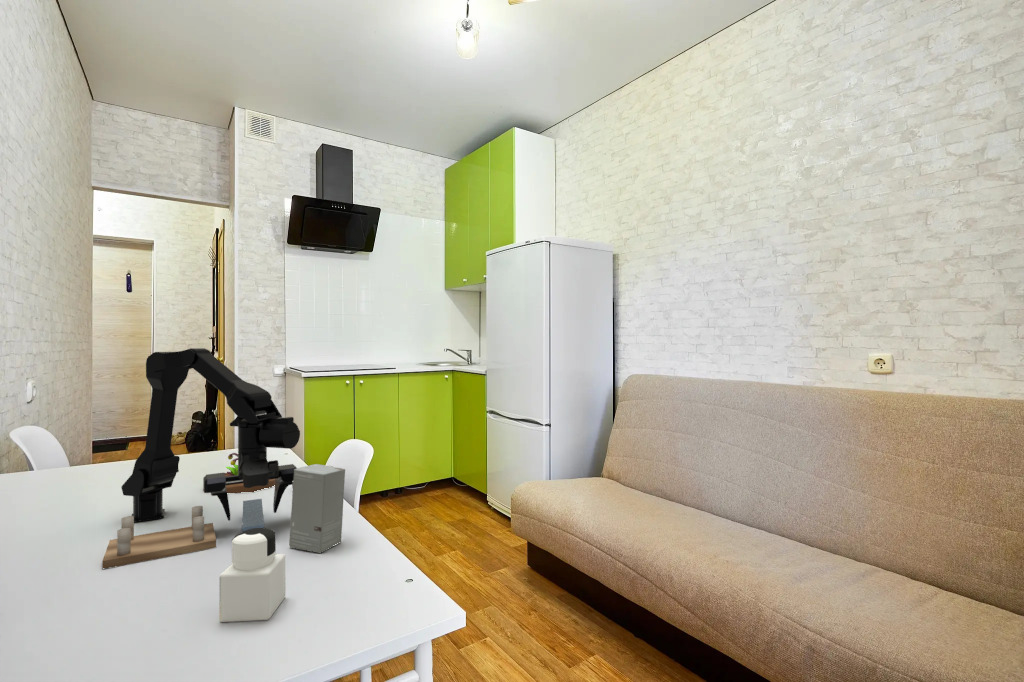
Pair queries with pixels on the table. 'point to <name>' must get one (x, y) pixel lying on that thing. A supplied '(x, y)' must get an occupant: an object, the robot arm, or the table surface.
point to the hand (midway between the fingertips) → (252, 516)
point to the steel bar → (252, 514)
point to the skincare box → (317, 507)
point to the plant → (239, 487)
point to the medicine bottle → (252, 577)
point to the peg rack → (158, 541)
